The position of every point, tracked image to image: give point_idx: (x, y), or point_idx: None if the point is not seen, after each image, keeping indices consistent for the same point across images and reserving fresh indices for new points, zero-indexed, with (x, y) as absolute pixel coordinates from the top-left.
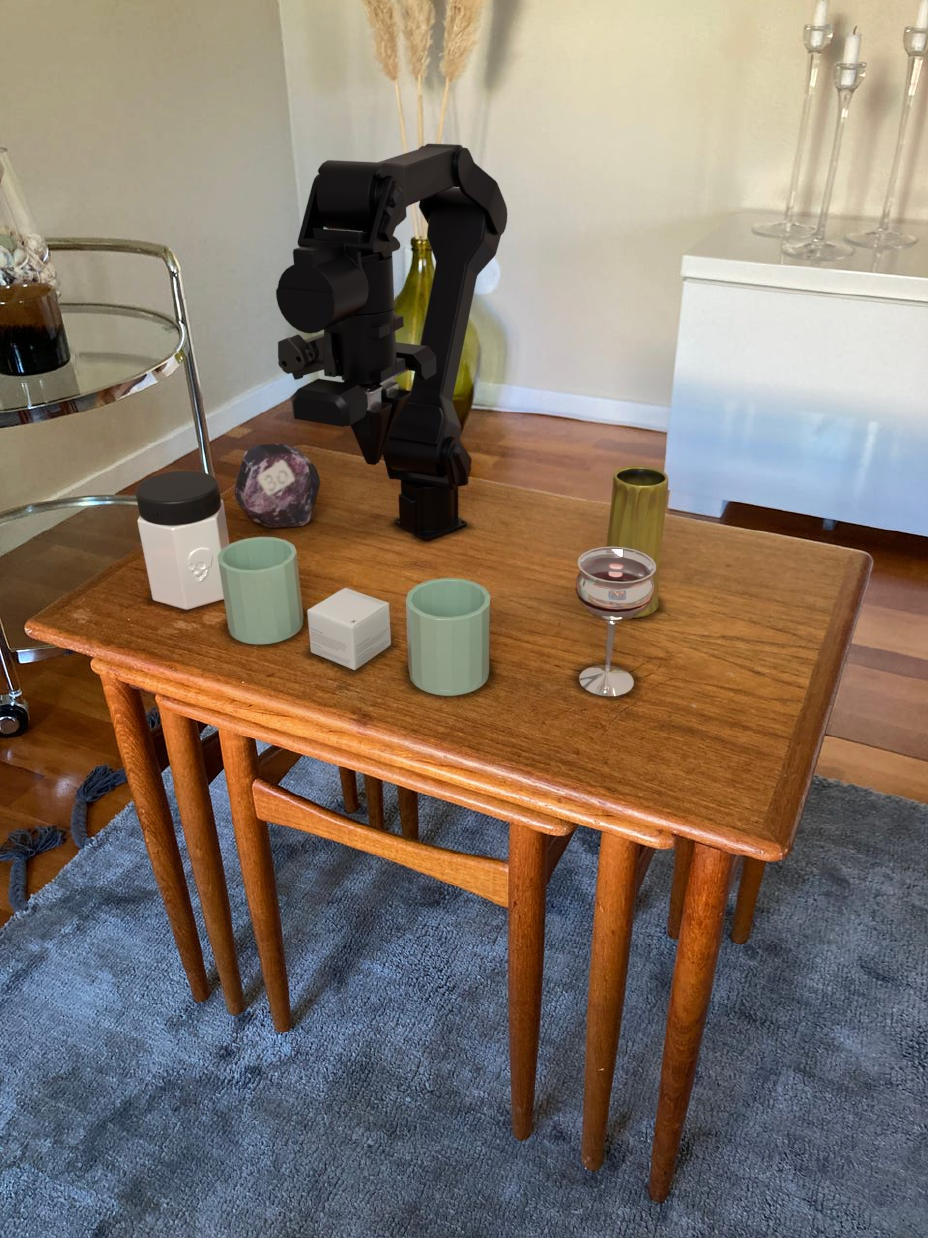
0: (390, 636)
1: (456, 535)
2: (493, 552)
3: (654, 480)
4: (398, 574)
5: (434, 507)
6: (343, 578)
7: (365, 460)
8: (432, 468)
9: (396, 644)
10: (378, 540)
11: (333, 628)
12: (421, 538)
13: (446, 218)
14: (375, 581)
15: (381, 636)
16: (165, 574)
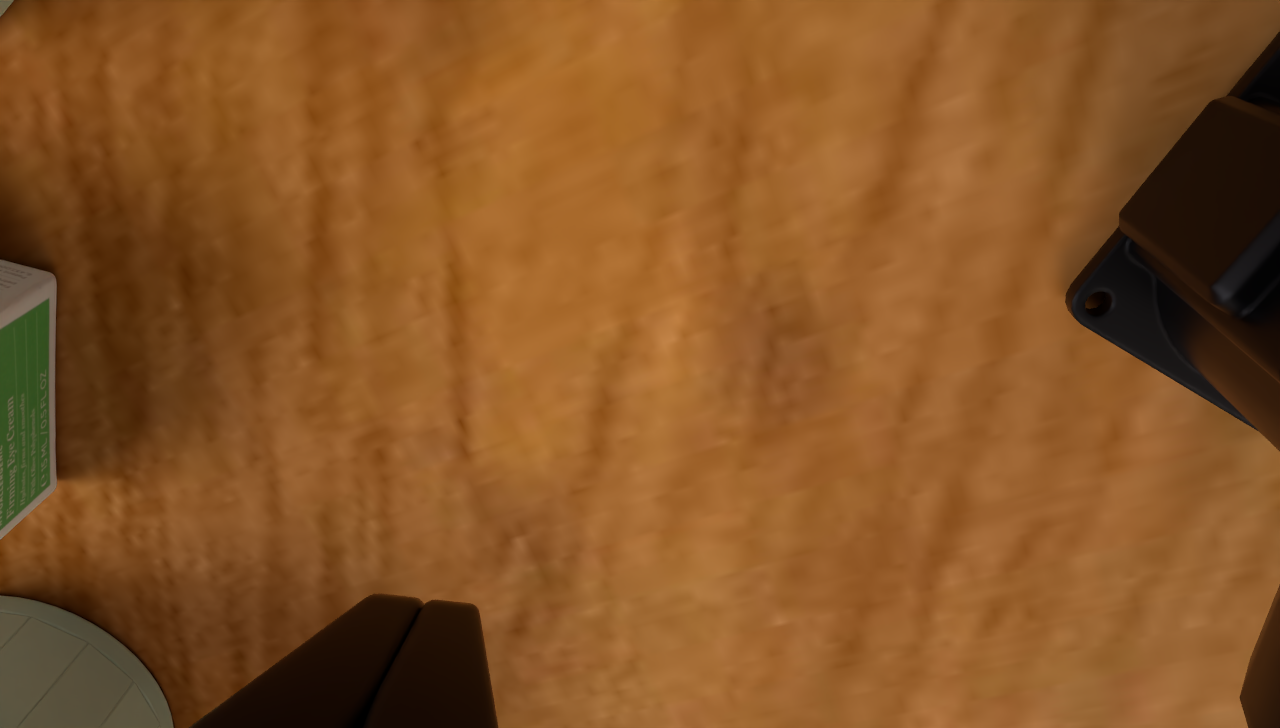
0: (30, 511)
1: (1182, 420)
2: (1010, 626)
3: None
4: (644, 291)
5: (1240, 402)
6: (487, 17)
7: (345, 614)
8: (1249, 686)
9: (84, 498)
10: (1033, 5)
11: None
12: (1083, 270)
13: None
14: (527, 207)
15: None
16: None
